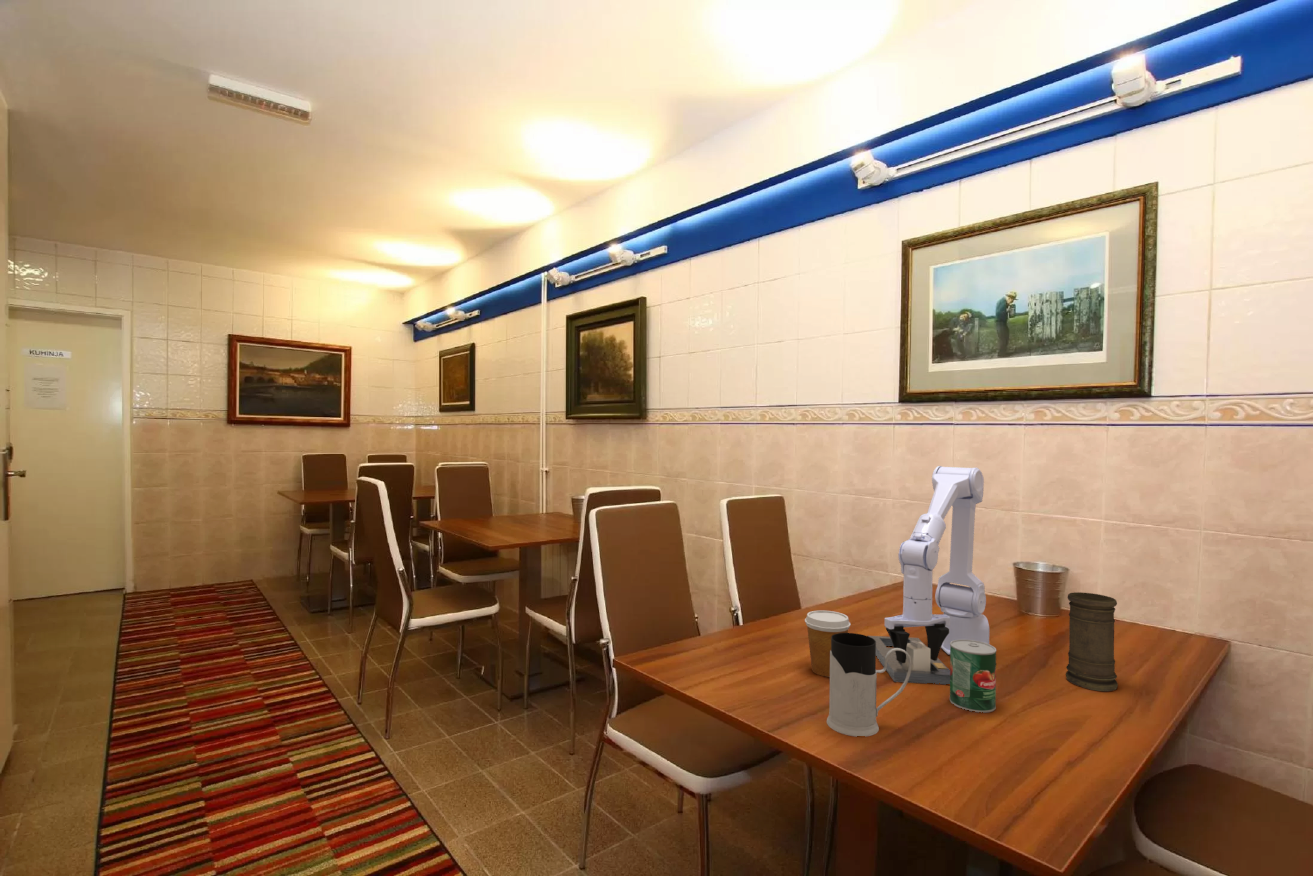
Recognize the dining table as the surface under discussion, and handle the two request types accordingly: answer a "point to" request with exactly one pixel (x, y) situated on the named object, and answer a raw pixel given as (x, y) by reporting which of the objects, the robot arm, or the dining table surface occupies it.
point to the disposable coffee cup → (823, 637)
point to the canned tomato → (973, 675)
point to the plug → (917, 657)
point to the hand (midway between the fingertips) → (916, 660)
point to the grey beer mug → (856, 684)
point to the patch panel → (898, 674)
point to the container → (1091, 641)
